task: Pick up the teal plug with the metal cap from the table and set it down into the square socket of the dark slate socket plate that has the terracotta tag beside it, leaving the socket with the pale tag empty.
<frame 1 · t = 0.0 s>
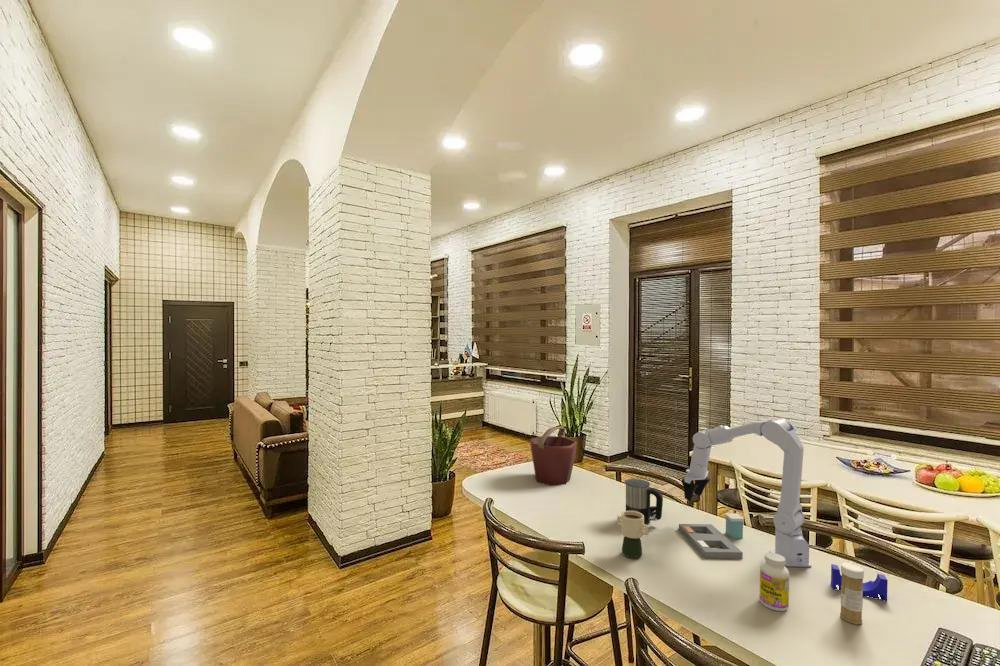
hand: (692, 497, 170), 11 cm above the table, tool pointing down, fingers open, 7 cm apart
sprinkles bottle: (851, 620, 115), on the table
plug: (734, 535, 162), on the table
cable clip: (857, 592, 128), on the table
socket plate: (708, 542, 156), on the table
character mug: (631, 555, 147), on the table
supplement bottle: (773, 605, 121), on the table
bucket: (553, 480, 219), on the table
milk frother: (643, 518, 176), on the table
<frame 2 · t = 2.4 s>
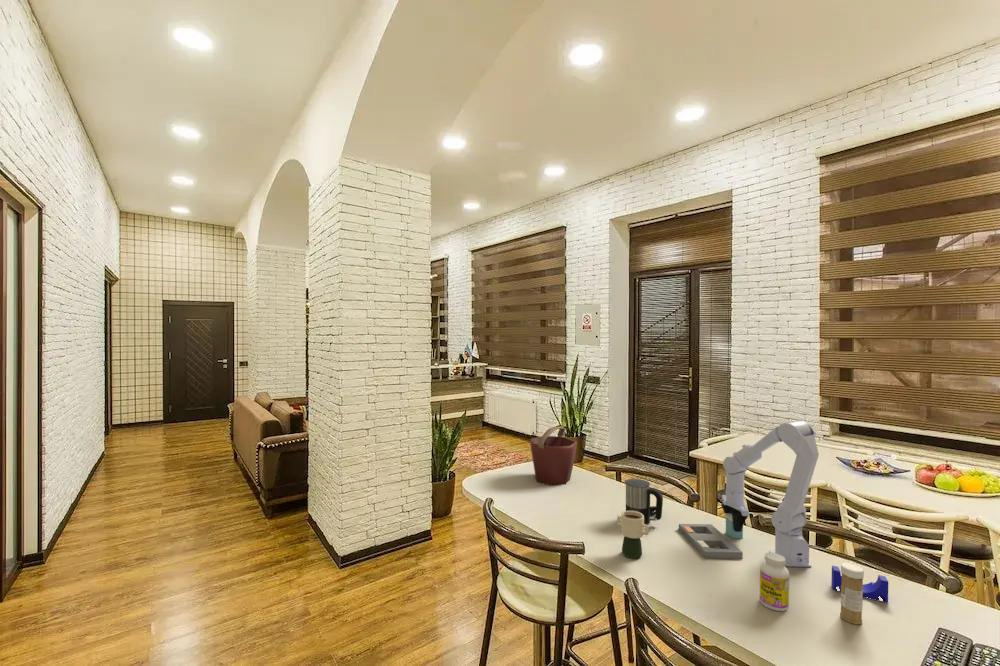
hand: (734, 528, 162), 3 cm above the table, tool pointing down, fingers closed on plug, 4 cm apart
plug: (734, 535, 162), on the table, touching gripper
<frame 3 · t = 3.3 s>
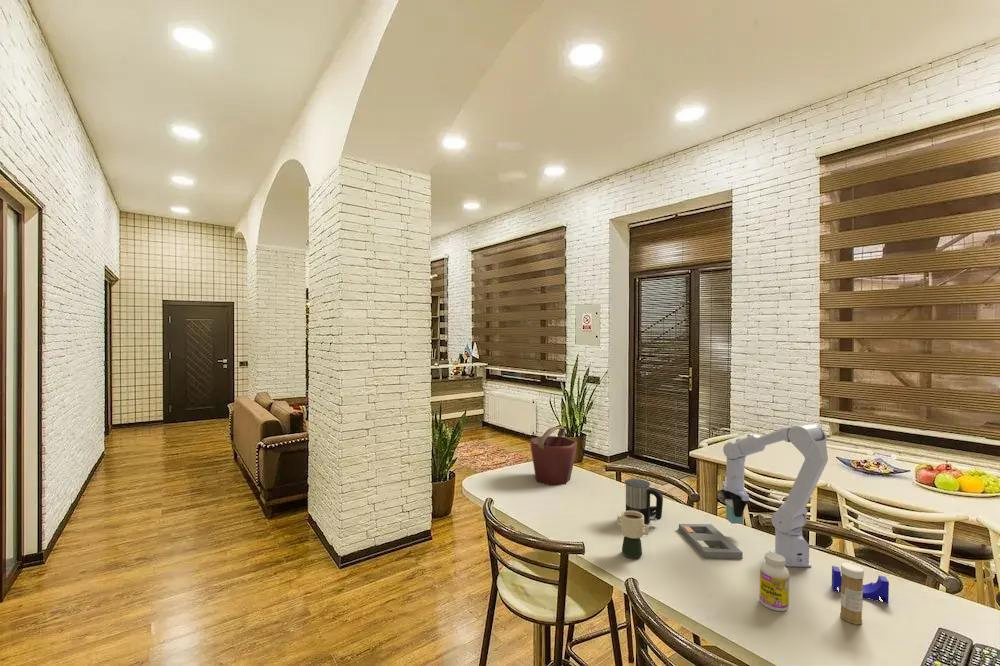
hand: (734, 513, 162), 8 cm above the table, tool pointing down, fingers closed on plug, 4 cm apart
plug: (734, 521, 162), point 5 cm above the table, touching gripper
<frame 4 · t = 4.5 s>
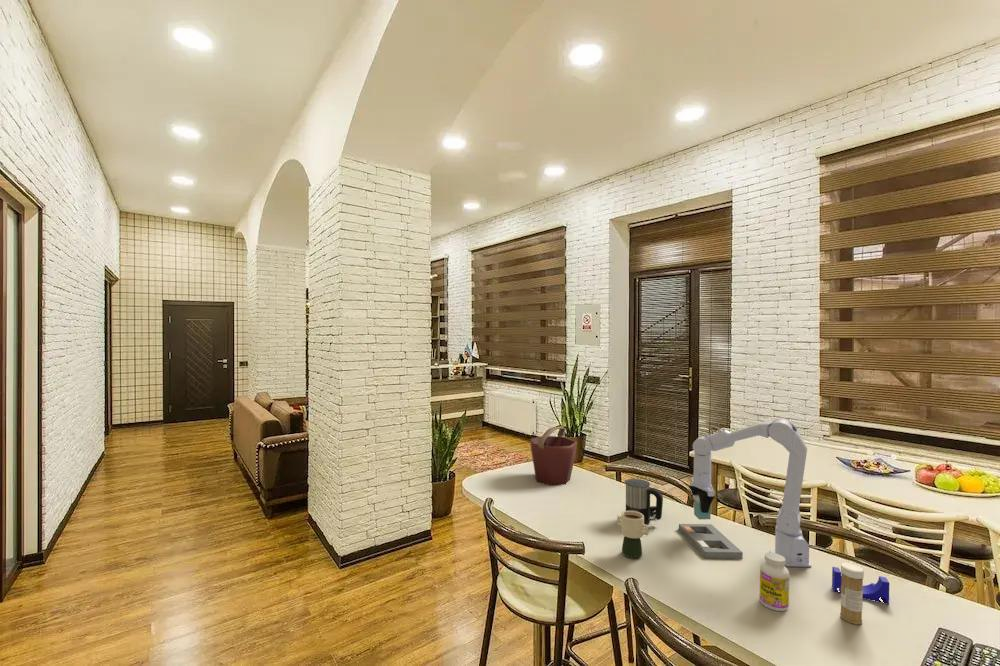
hand: (701, 509, 161), 9 cm above the table, tool pointing down, fingers closed on plug, 4 cm apart
plug: (702, 516, 161), point 7 cm above the table, touching gripper
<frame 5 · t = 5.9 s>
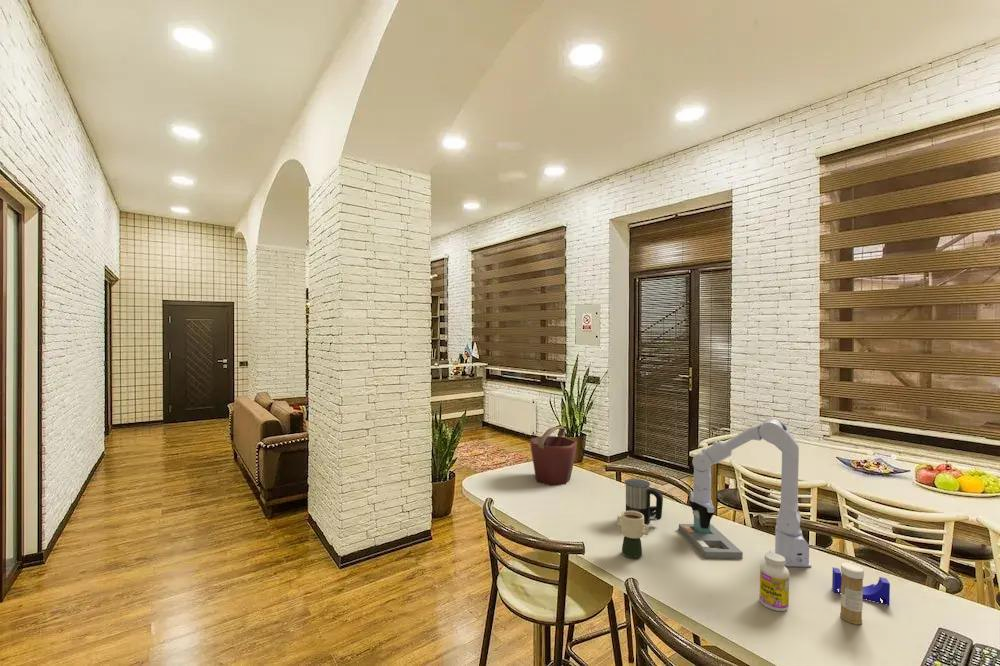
hand: (701, 525, 161), 4 cm above the table, tool pointing down, fingers closed on plug, 4 cm apart
plug: (701, 532, 161), point 1 cm above the table, touching gripper
when the fingers open (4 cm above the table, at t = 6.9 s): plug drops 1 cm, resting in socket plate.
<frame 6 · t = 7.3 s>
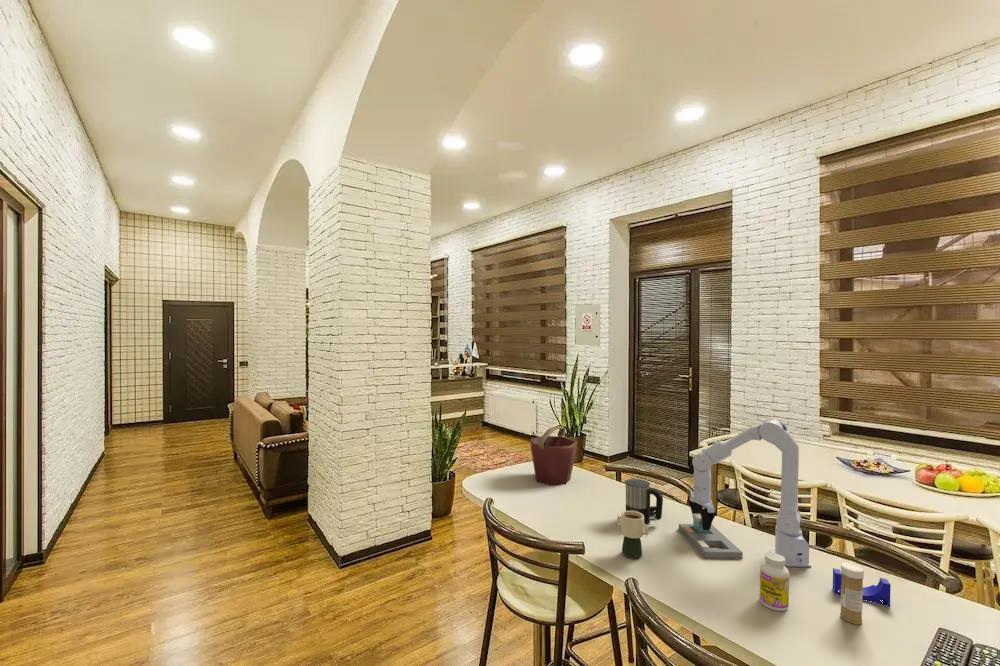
hand: (701, 525, 161), 4 cm above the table, tool pointing down, fingers open, 7 cm apart
plug: (701, 535, 161), resting in socket plate
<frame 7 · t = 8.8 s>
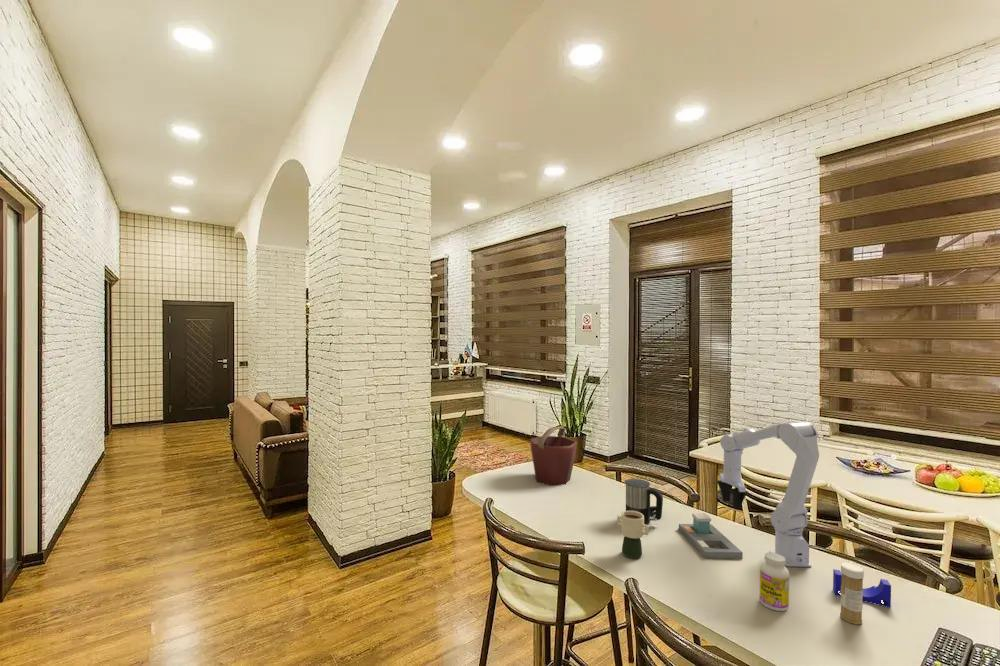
hand: (731, 504, 166), 9 cm above the table, tool pointing down, fingers open, 7 cm apart
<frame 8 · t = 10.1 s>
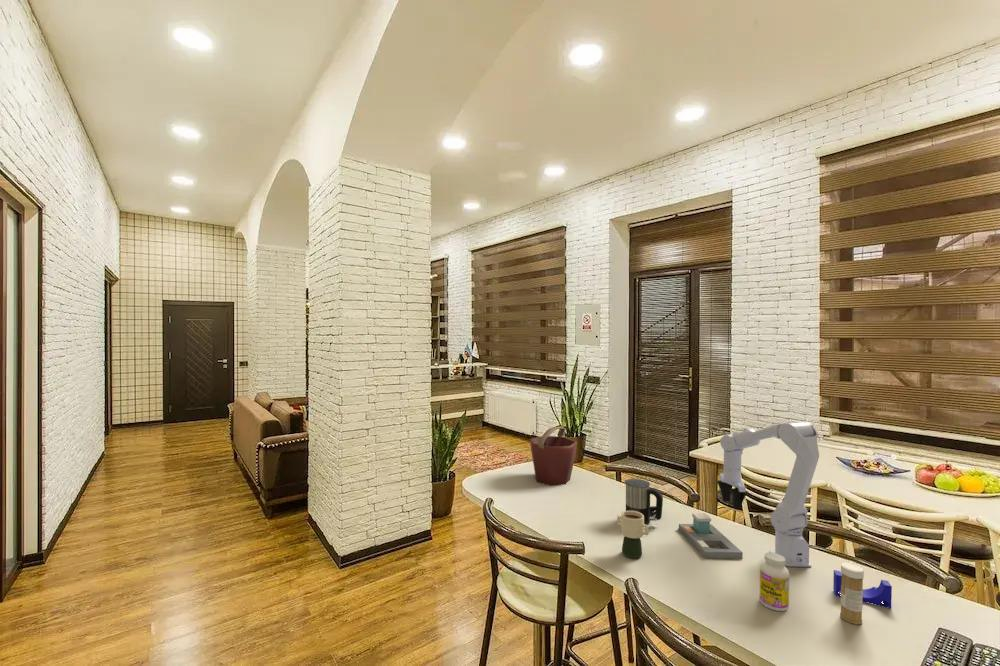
hand: (731, 504, 166), 9 cm above the table, tool pointing down, fingers open, 7 cm apart
at the end: plug 0.2 cm from the target spot on the socket plate, point 0.0 cm above the socket plate's base; plug tilted 0°; the gripper is holding nothing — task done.
